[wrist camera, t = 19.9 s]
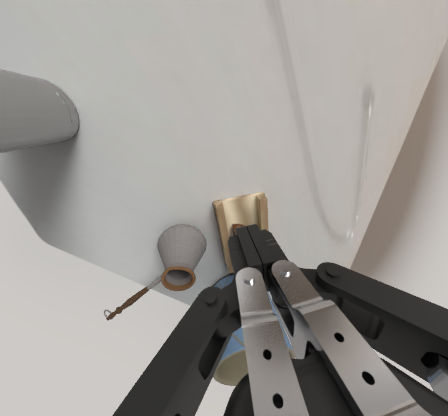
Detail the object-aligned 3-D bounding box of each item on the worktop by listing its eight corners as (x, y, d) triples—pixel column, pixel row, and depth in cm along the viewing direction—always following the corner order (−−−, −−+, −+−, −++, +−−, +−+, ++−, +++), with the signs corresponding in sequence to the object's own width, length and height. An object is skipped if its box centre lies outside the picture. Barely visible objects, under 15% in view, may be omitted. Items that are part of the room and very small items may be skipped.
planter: (227, 314, 62) (239, 392, 45) (195, 288, 54) (194, 372, 36) (274, 290, 59) (306, 363, 42) (248, 258, 51) (274, 333, 33)
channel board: (225, 262, 50) (228, 277, 46) (213, 201, 41) (215, 212, 36) (265, 254, 51) (272, 267, 46) (262, 191, 41) (271, 201, 37)
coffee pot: (192, 211, 41) (189, 256, 28) (213, 244, 47) (219, 295, 33) (115, 247, 43) (79, 305, 30) (144, 275, 48) (124, 334, 35)
